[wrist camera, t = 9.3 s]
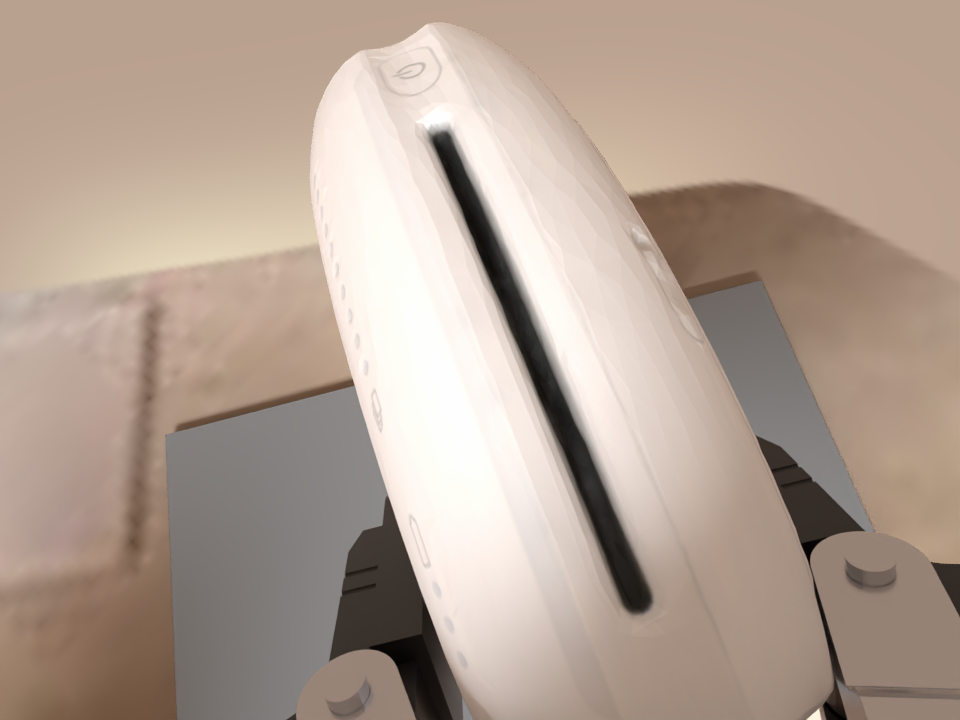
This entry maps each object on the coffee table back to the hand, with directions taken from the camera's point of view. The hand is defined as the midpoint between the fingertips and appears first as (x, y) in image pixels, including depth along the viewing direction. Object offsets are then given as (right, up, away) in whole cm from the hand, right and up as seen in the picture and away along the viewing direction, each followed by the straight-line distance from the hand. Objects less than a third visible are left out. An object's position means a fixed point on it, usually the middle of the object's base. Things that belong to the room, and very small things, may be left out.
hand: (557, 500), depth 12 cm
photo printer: (0, -1, +6) cm, 6 cm away
